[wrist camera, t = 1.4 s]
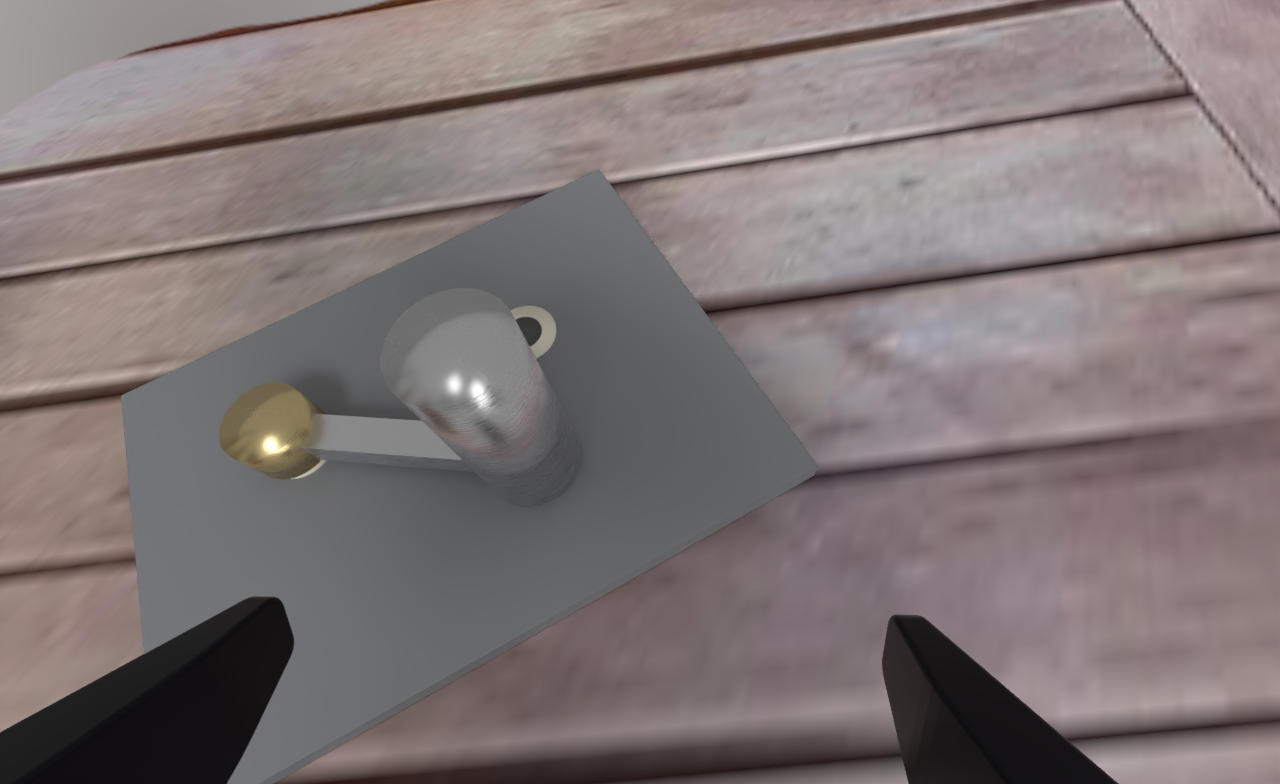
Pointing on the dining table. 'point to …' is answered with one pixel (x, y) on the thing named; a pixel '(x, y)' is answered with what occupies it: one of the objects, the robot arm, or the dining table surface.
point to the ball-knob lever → (429, 408)
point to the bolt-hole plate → (448, 473)
